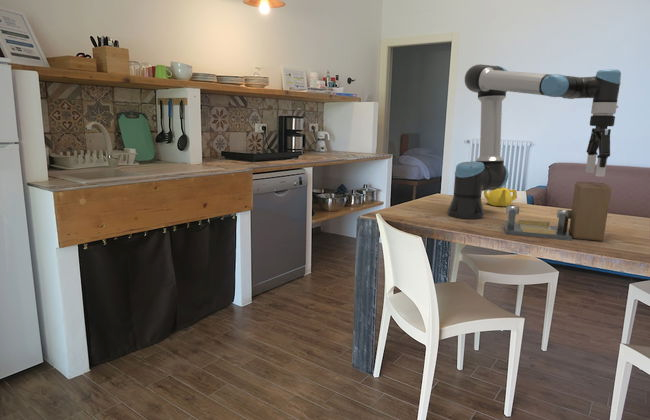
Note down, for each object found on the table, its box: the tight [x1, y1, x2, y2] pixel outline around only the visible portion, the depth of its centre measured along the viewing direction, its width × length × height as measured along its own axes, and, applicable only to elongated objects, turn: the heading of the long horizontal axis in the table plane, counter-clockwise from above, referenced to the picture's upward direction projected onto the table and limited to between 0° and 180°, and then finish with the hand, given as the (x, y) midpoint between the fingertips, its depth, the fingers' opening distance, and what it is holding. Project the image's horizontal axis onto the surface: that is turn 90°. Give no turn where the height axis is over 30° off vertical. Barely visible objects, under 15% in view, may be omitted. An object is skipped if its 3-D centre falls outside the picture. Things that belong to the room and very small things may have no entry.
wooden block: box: [568, 181, 612, 242], centre depth 168 cm, size 10×10×20 cm
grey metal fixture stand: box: [503, 205, 573, 241], centre depth 174 cm, size 22×15×10 cm
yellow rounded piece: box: [483, 186, 518, 207], centre depth 228 cm, size 14×13×10 cm
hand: (594, 174), depth 167 cm, fingers open, 13 cm apart
